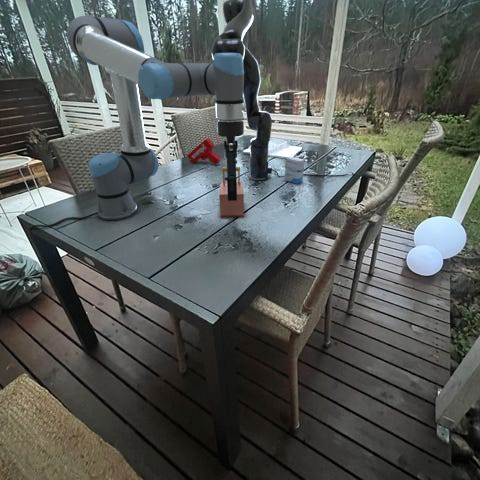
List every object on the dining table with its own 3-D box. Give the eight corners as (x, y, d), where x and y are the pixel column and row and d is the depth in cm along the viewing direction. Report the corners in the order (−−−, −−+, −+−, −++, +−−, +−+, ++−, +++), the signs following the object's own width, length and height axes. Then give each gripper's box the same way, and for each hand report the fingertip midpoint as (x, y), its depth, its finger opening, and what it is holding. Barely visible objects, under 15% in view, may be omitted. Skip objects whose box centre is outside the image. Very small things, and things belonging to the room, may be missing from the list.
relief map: (291, 159, 177) (291, 151, 174) (243, 153, 190) (243, 145, 187) (302, 149, 197) (303, 142, 194) (258, 144, 211) (258, 137, 208)
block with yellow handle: (220, 184, 116) (219, 164, 112) (242, 183, 116) (242, 164, 112) (219, 196, 105) (218, 175, 100) (243, 196, 105) (243, 175, 100)
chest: (221, 203, 121) (220, 184, 116) (242, 203, 121) (242, 184, 116) (220, 217, 110) (219, 197, 105) (243, 217, 110) (243, 196, 105)
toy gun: (223, 158, 167) (209, 137, 163) (221, 160, 164) (206, 138, 160) (204, 173, 177) (189, 154, 173) (201, 175, 174) (186, 155, 170)
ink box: (302, 181, 142) (305, 159, 136) (297, 184, 139) (300, 161, 133) (289, 177, 147) (291, 156, 141) (284, 180, 144) (285, 158, 138)
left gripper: (246, 128, 65) (245, 208, 77) (241, 113, 86) (242, 177, 98) (214, 128, 65) (219, 208, 76) (218, 113, 86) (221, 178, 97)
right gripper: (219, 105, 103) (221, 149, 112) (218, 110, 91) (220, 159, 100) (239, 105, 103) (239, 148, 112) (240, 110, 91) (240, 158, 100)
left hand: (232, 191), depth 87 cm, fingers open, 13 cm apart
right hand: (230, 153), depth 106 cm, fingers open, 8 cm apart
